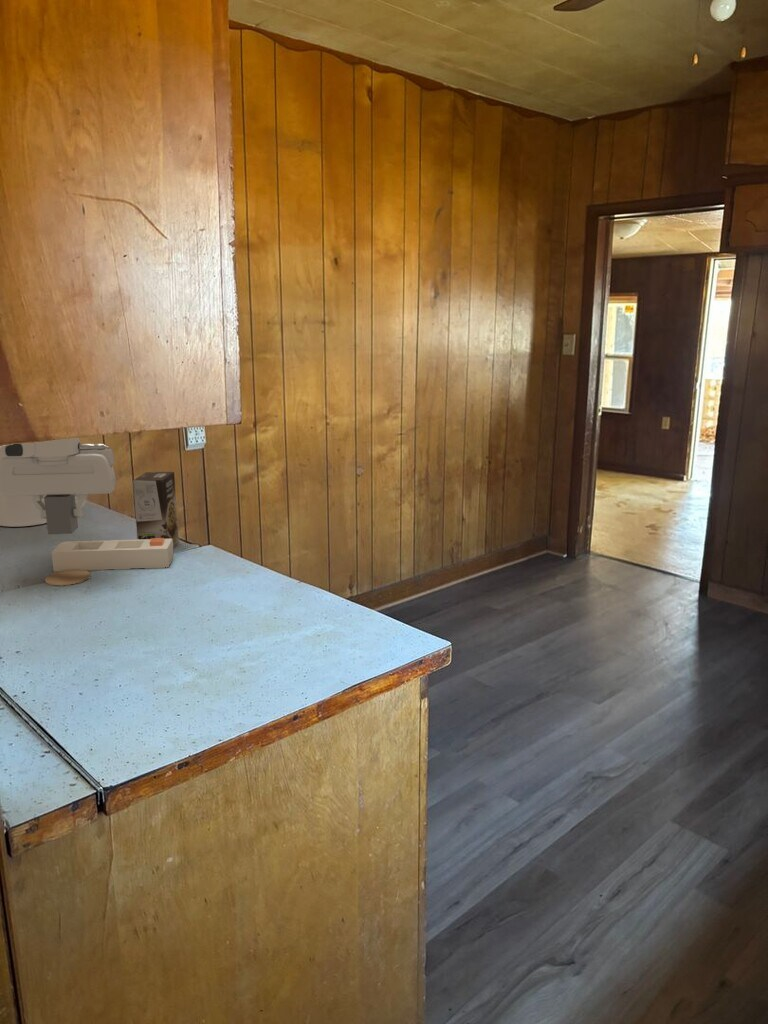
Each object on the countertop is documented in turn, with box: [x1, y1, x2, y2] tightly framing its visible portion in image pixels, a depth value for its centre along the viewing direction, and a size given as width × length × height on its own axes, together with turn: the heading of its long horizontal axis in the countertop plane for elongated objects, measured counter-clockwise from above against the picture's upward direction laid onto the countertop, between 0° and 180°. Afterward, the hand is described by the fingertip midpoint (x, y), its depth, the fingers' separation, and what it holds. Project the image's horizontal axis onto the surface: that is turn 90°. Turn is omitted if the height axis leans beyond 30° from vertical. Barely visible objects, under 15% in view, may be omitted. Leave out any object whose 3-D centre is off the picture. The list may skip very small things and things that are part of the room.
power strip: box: [51, 538, 175, 573], centre depth 151 cm, size 22×7×5 cm, turn 97°
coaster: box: [44, 570, 91, 587], centre depth 143 cm, size 8×8×1 cm
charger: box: [44, 494, 79, 535], centre depth 140 cm, size 4×4×7 cm
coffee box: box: [132, 471, 180, 549], centre depth 160 cm, size 9×6×16 cm
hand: (61, 517), depth 140 cm, fingers closed on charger, 4 cm apart
